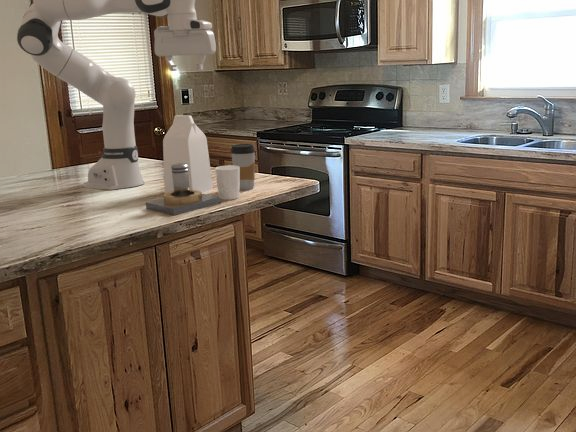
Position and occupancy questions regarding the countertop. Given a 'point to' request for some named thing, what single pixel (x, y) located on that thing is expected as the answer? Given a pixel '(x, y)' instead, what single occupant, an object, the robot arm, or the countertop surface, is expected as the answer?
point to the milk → (187, 154)
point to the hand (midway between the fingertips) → (186, 70)
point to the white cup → (228, 181)
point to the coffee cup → (244, 164)
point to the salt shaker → (180, 179)
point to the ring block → (182, 202)
